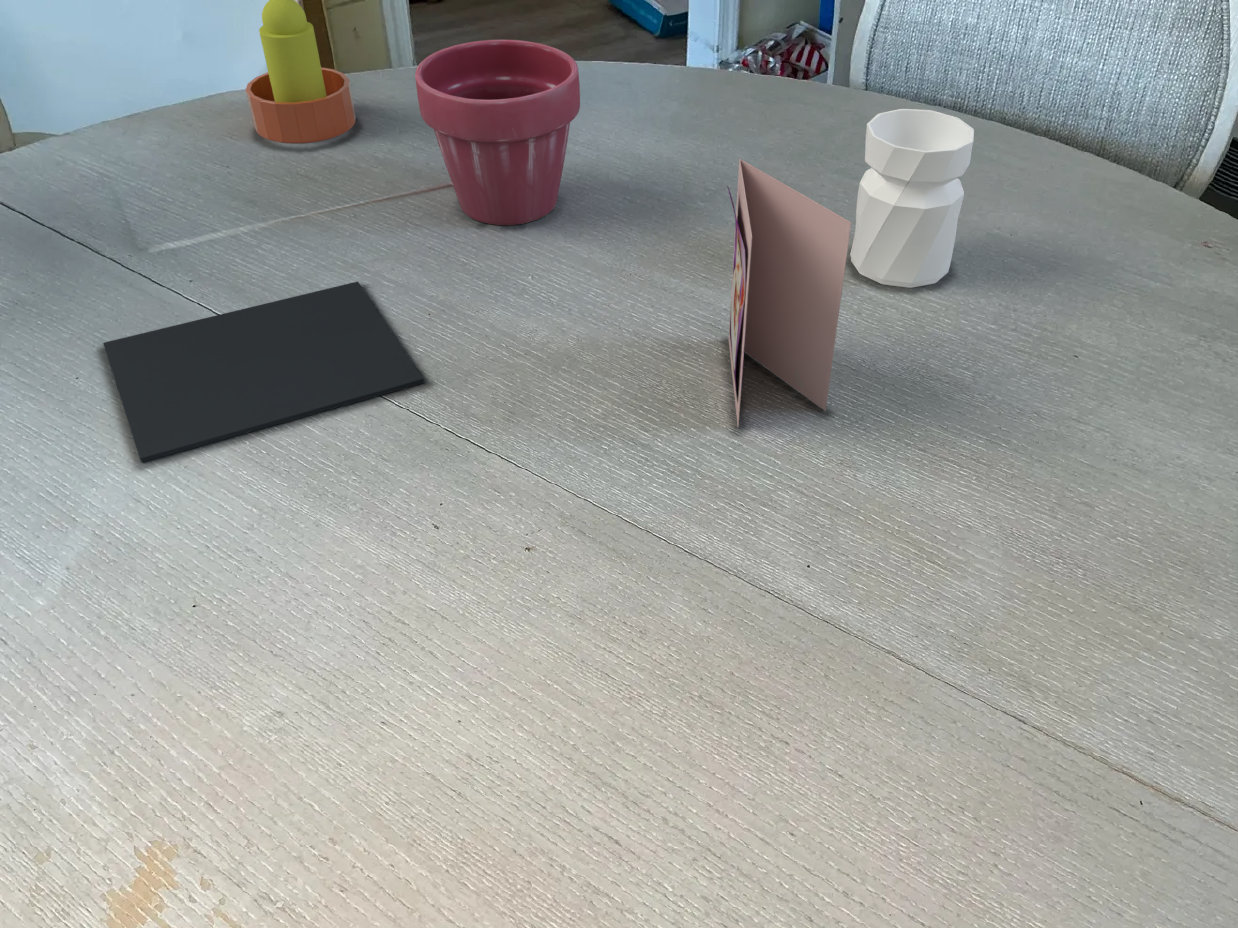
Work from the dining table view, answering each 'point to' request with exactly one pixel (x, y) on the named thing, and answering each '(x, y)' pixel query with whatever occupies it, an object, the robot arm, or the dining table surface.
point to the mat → (255, 369)
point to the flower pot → (501, 124)
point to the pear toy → (291, 53)
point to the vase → (910, 196)
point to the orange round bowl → (302, 111)
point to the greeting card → (785, 284)
